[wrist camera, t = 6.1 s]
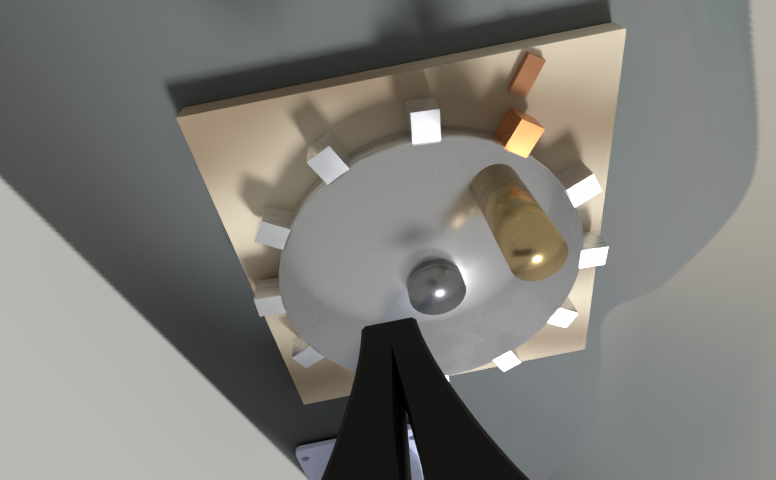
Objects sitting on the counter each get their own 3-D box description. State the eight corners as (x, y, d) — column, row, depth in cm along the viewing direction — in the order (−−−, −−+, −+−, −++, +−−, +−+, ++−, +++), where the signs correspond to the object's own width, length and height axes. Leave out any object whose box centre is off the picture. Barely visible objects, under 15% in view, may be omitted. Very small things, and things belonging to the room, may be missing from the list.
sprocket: (484, 395, 28) (517, 495, 23) (216, 341, 23) (189, 454, 18) (668, 177, 20) (771, 259, 16) (327, 25, 15) (330, 80, 11)
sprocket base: (577, 335, 27) (587, 353, 26) (304, 389, 28) (303, 409, 26) (612, 22, 17) (630, 30, 16) (182, 107, 17) (173, 120, 16)
